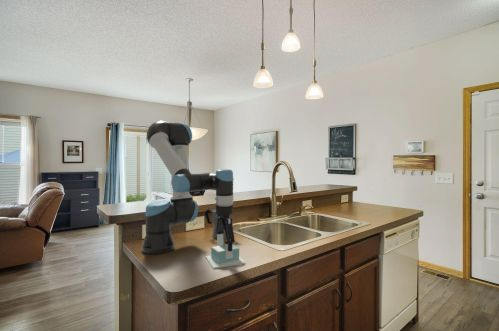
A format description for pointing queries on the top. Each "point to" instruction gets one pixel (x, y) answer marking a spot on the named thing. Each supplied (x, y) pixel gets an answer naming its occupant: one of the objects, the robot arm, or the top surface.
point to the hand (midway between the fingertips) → (224, 253)
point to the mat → (227, 264)
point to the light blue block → (223, 254)
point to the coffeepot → (214, 222)
